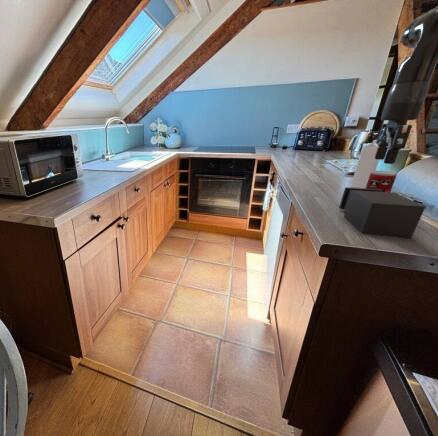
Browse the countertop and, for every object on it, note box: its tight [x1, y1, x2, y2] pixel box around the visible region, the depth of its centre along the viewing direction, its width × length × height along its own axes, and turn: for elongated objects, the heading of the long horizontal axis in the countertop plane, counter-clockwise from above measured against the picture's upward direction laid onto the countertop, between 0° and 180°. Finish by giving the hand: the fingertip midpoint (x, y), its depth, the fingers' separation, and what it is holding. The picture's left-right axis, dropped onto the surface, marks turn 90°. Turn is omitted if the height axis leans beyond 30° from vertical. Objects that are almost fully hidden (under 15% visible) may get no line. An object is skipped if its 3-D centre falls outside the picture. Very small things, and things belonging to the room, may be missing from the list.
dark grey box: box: [343, 190, 426, 239], centre depth 74 cm, size 14×12×10 cm
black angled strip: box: [338, 187, 383, 212], centre depth 83 cm, size 17×10×8 cm, turn 161°
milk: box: [350, 139, 380, 189], centre depth 113 cm, size 6×6×22 cm
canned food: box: [365, 170, 398, 192], centre depth 100 cm, size 8×8×11 cm
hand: (383, 161), depth 73 cm, fingers open, 8 cm apart
